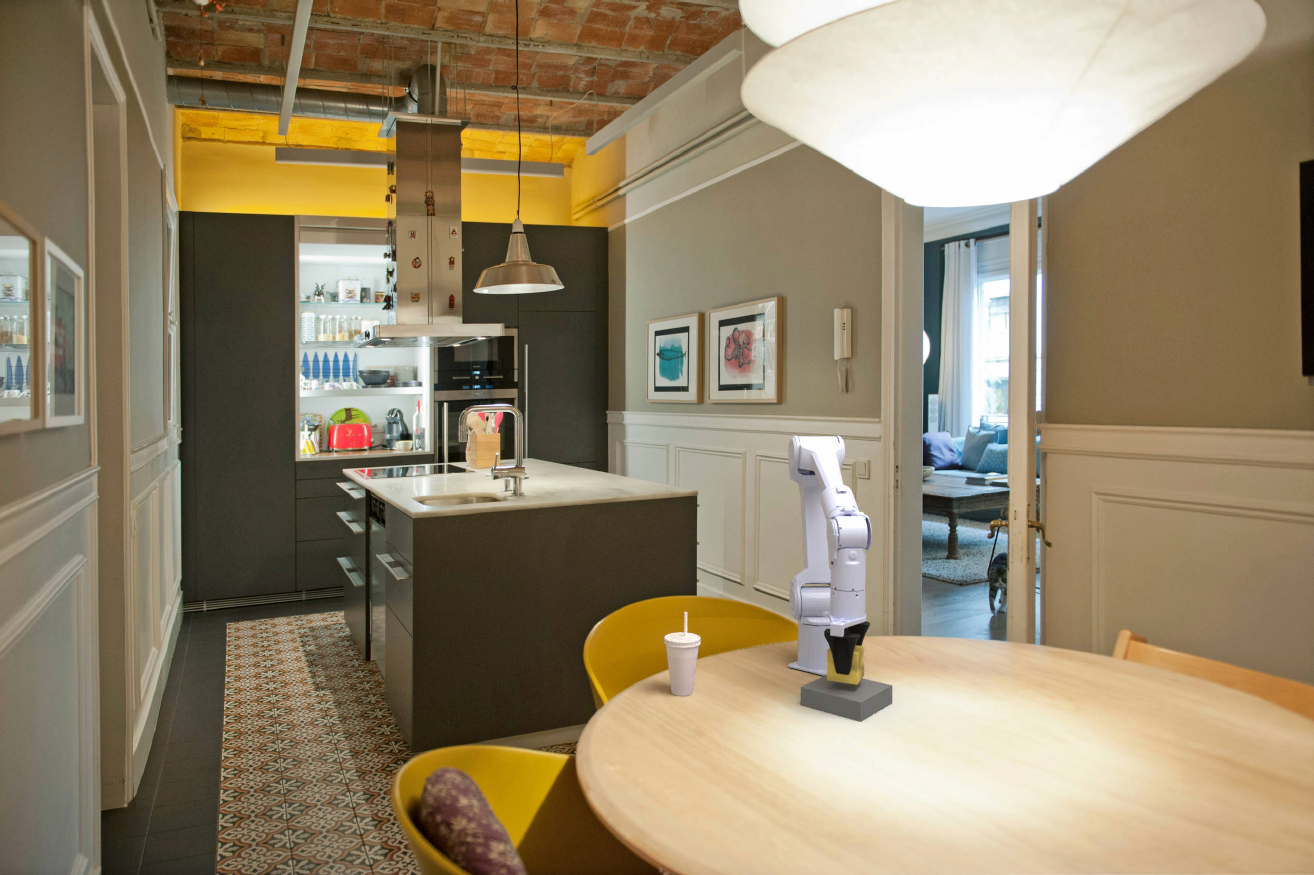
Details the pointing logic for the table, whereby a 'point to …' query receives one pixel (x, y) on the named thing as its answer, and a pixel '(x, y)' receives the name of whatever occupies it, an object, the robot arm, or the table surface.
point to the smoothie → (682, 660)
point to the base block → (847, 697)
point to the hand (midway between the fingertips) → (846, 669)
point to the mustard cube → (856, 667)
